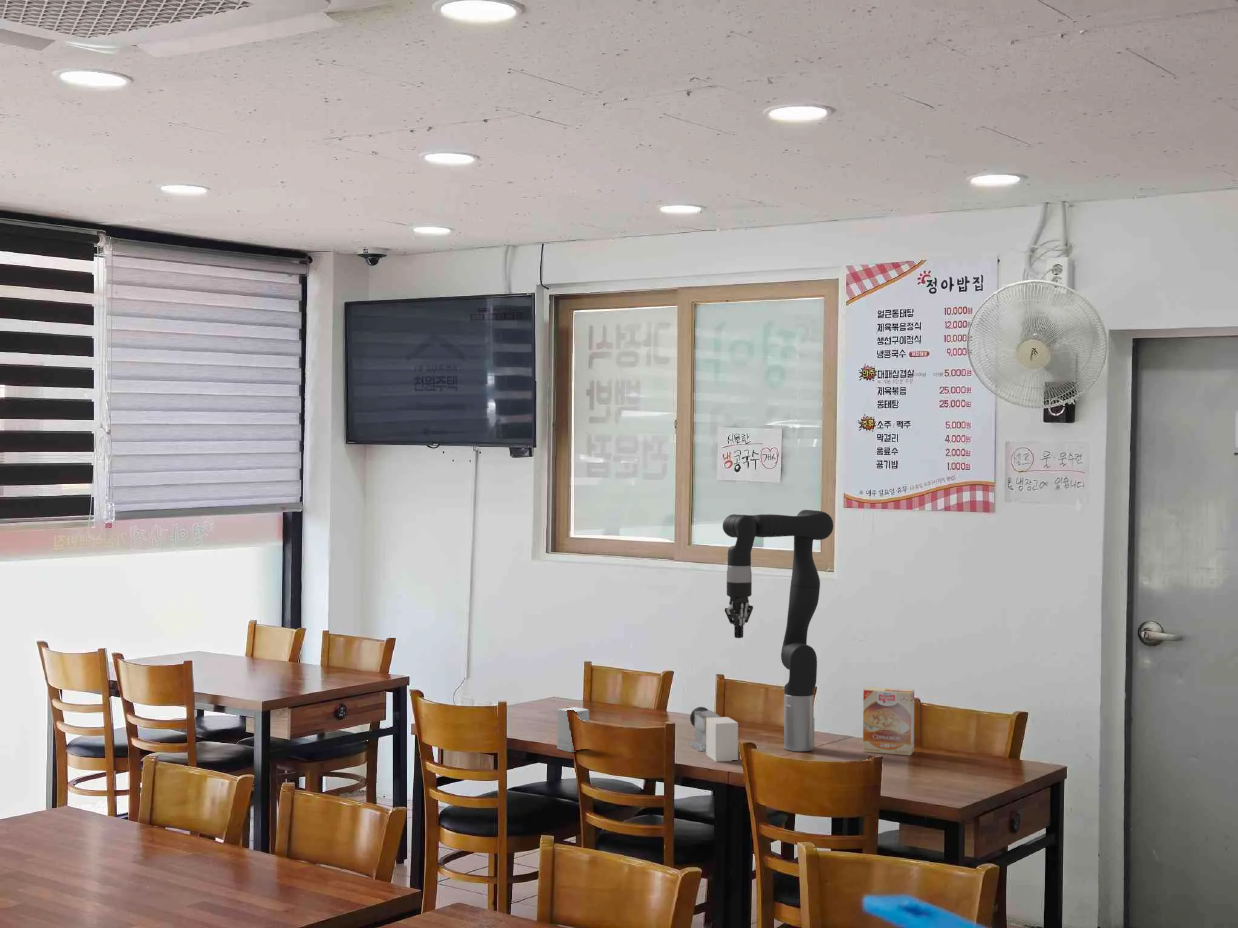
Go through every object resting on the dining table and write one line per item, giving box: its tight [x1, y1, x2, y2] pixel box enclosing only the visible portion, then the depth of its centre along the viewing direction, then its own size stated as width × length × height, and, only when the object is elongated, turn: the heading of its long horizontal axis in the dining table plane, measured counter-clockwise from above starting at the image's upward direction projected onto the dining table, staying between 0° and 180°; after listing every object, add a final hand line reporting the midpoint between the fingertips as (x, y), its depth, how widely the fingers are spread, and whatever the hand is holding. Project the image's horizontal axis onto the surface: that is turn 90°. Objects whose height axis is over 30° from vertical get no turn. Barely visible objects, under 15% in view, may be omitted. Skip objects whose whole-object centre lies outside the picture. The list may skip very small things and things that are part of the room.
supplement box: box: [556, 706, 590, 753], centre depth 430 cm, size 7×7×13 cm
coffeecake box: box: [862, 686, 915, 756], centre depth 429 cm, size 15×7×20 cm, turn 70°
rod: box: [689, 706, 709, 728], centre depth 431 cm, size 23×7×7 cm, turn 13°
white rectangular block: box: [705, 716, 739, 762], centre depth 419 cm, size 10×7×11 cm
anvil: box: [687, 709, 721, 753], centre depth 435 cm, size 12×9×11 cm
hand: (738, 637), depth 416 cm, fingers closed
